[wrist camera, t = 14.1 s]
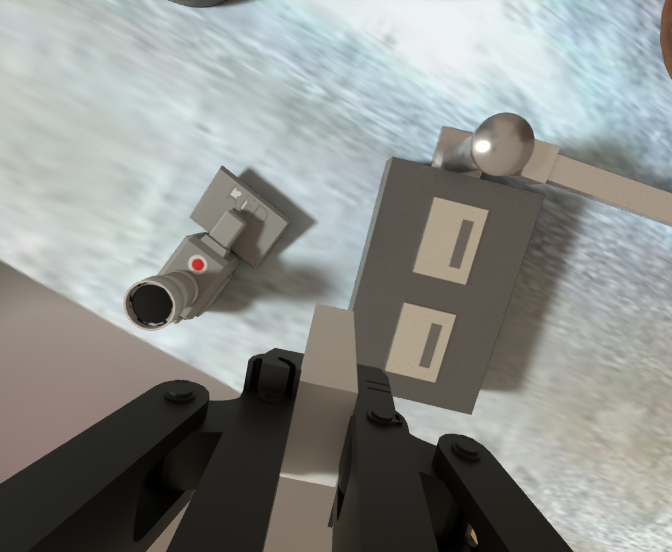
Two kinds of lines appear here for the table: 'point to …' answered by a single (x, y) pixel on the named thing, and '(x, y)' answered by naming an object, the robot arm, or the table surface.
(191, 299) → the camera
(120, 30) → the table surface
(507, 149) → the post
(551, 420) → the table surface
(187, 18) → the table surface
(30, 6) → the table surface
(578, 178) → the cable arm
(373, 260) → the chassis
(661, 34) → the cup holder
